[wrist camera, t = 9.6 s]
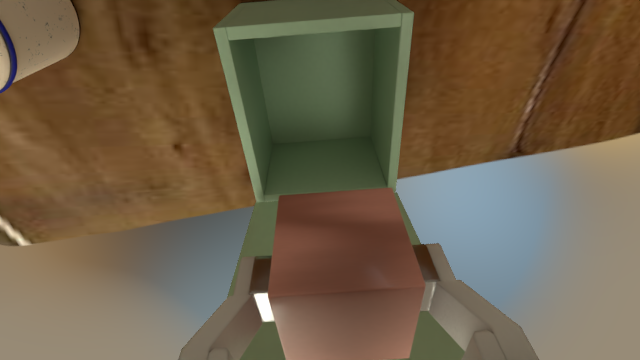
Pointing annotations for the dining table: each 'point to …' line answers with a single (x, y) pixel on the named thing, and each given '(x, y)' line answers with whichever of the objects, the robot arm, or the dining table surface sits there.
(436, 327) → the lid
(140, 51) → the dining table surface
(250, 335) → the robot arm
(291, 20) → the box
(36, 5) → the teacup with lid
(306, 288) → the block
